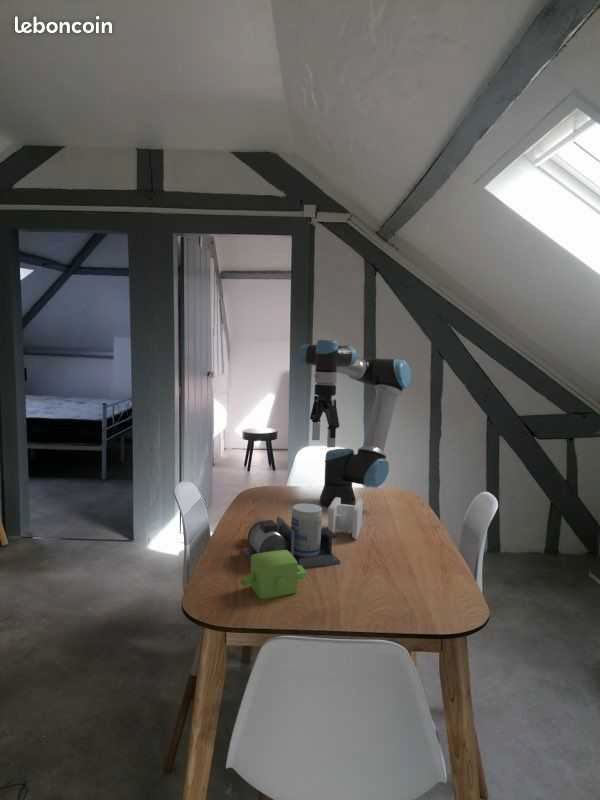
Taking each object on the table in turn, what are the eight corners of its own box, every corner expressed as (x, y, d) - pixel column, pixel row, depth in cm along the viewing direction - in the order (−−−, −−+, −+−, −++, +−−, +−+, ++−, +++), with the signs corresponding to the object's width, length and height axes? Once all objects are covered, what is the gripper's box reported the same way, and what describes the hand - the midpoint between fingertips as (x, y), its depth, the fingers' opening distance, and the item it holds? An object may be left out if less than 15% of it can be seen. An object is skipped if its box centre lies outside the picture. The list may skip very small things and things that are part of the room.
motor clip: (320, 542, 186) (321, 508, 185) (343, 563, 170) (344, 526, 168) (242, 551, 177) (243, 515, 175) (258, 573, 160) (259, 534, 159)
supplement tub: (285, 555, 172) (286, 509, 170) (296, 545, 181) (298, 501, 179) (314, 560, 168) (316, 513, 167) (324, 550, 177) (326, 505, 176)
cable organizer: (356, 542, 188) (357, 509, 186) (325, 539, 190) (327, 506, 189) (362, 528, 202) (363, 497, 201) (333, 525, 205) (334, 495, 203)
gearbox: (245, 606, 141) (245, 572, 140) (234, 588, 150) (235, 556, 149) (309, 595, 148) (310, 562, 147) (295, 578, 157) (296, 547, 156)
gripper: (302, 381, 204) (300, 437, 206) (330, 387, 181) (327, 450, 183) (321, 381, 206) (319, 437, 209) (350, 387, 183) (348, 449, 186)
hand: (323, 443), depth 196 cm, fingers open, 13 cm apart
